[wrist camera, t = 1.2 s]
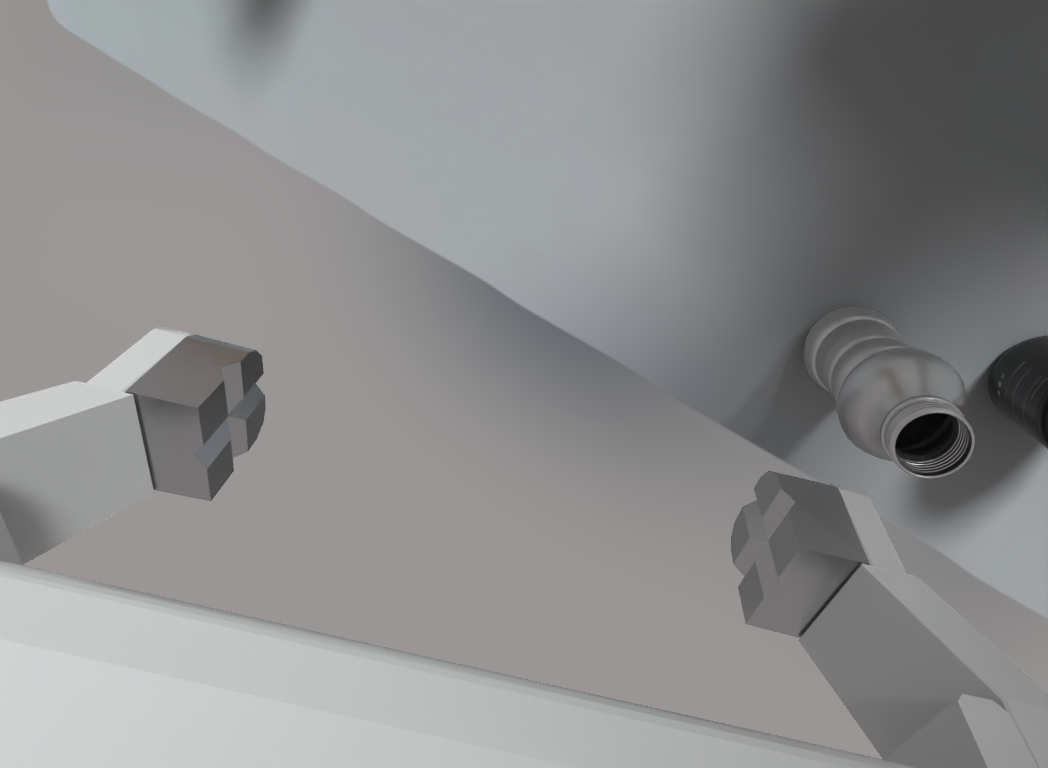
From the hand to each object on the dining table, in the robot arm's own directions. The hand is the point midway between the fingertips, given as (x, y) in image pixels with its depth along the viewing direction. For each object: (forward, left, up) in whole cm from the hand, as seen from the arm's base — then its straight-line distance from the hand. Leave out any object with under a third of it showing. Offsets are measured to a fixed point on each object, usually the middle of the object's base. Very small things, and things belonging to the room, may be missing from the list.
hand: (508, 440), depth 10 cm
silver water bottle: (-9, +14, -43) cm, 46 cm away
